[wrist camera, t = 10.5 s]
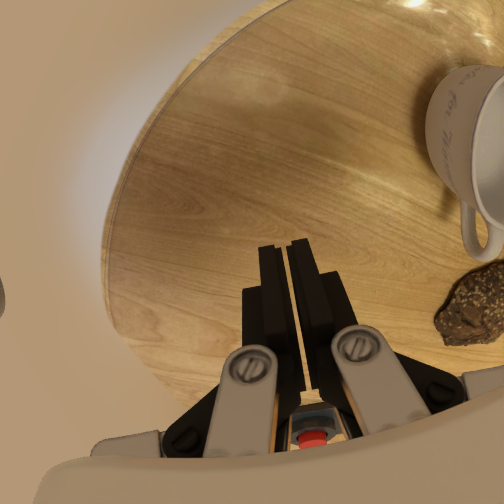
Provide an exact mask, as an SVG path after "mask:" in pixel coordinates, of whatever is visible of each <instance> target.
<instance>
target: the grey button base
mask: <svg viewBox="0 0 504 504" xmlns="http://www.w3.org/2000/svg"><path fill="white" fill-rule="evenodd" d="M315 430H318V431H325V432H326V438H327V441H329V440H330V439H332V438H333V437H334V436H335V435H336V434H341V433H343V431H342V429H341V426H340V424H339V421H338V419H337V417H336V414H335V412H334V407H333V406H332V405H330V404H329V403H327V402H322V403H316V404H310V405H304V406H299V407H298V408H297V409H296V410H295V411H294V412H293V413H292V430H291V443H292V444H294V445H299V442H298V435H300V434H302V433H305V432H309V431H315Z"/></svg>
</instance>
